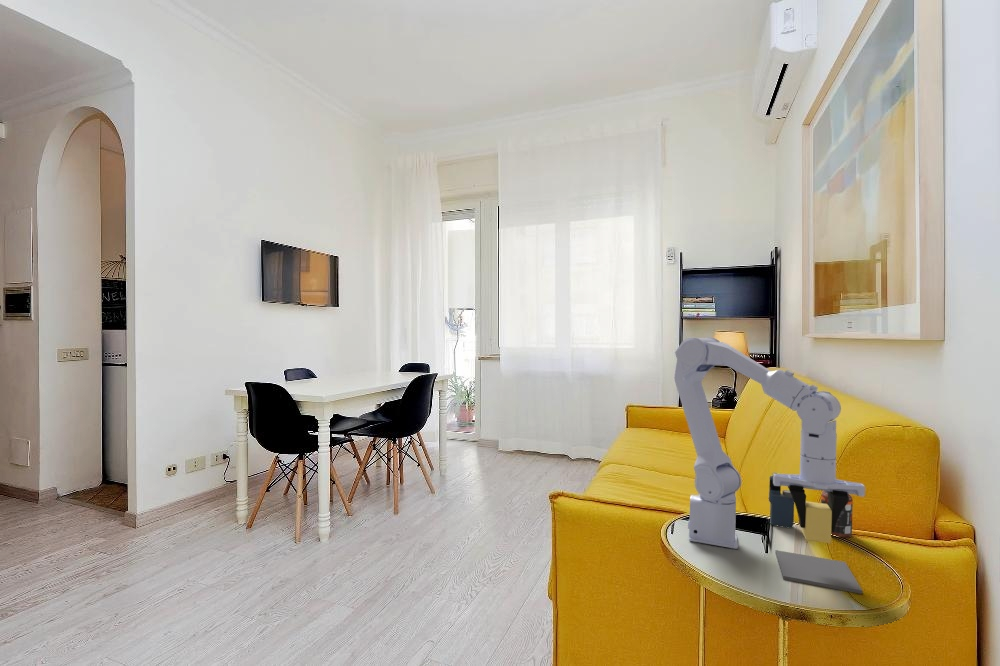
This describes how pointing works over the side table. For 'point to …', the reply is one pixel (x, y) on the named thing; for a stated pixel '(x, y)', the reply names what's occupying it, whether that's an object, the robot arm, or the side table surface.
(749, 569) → the side table surface
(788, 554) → the charcoal mat
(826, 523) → the mustard block
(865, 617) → the side table surface
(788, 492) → the vaping device
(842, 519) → the supplement bottle
